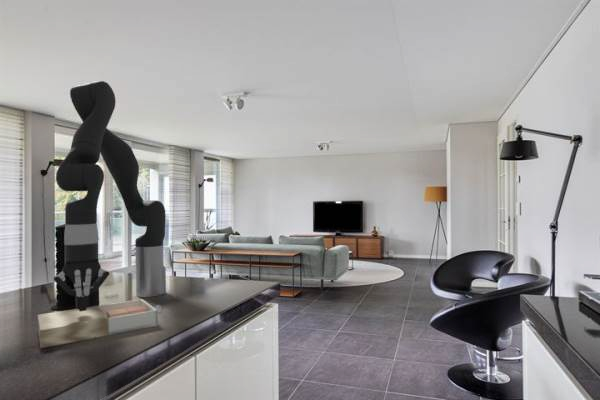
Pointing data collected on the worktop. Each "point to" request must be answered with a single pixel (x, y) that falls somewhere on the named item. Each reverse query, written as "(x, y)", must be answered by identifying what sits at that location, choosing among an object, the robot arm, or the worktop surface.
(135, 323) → the tray
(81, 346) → the worktop surface
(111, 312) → the tile
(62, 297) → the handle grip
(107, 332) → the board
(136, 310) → the tile
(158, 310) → the chef's knife
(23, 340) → the worktop surface
